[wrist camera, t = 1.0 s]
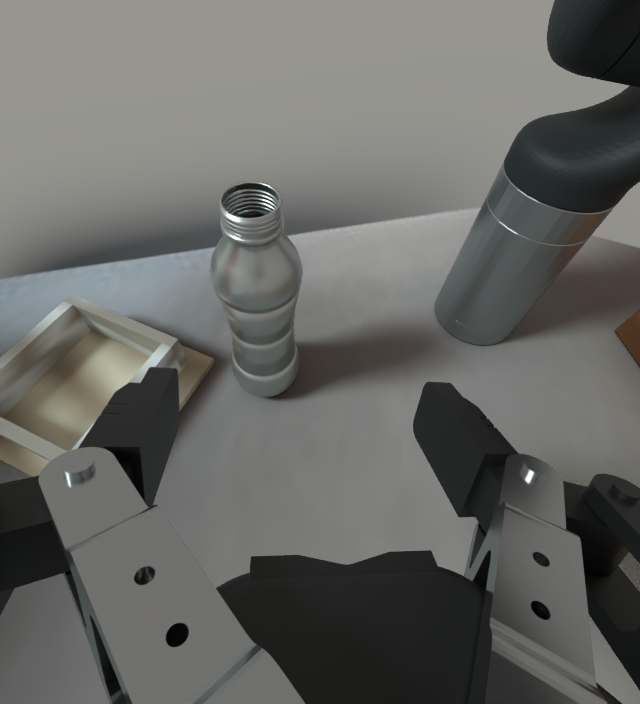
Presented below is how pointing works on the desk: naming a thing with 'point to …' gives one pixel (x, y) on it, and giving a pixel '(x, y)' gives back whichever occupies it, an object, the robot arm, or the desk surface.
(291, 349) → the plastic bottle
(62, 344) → the mounting cradle
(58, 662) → the desk surface
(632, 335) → the diary
